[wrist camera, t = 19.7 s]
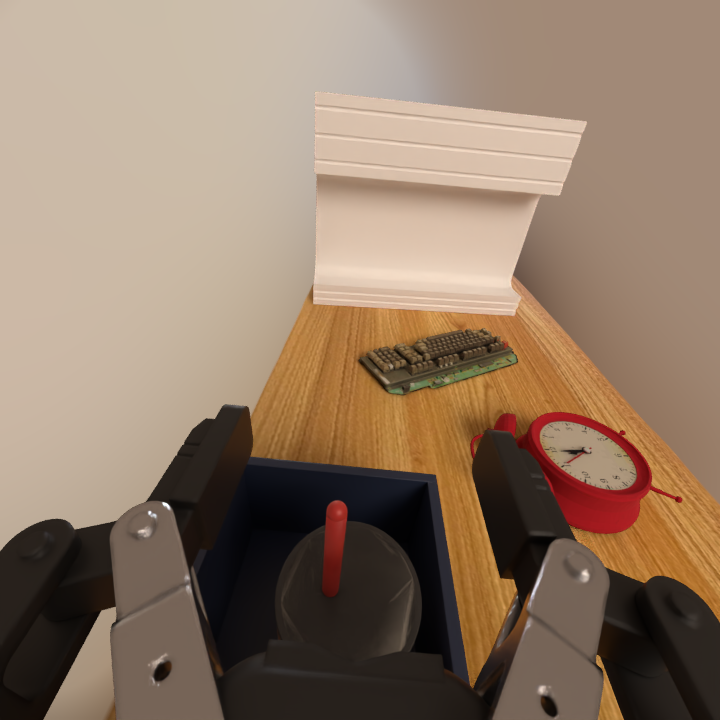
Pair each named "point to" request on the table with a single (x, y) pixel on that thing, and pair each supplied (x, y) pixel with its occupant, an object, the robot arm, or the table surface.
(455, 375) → the keyboard
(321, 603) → the paper cup
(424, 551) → the bin
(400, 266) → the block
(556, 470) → the alarm clock
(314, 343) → the table surface
